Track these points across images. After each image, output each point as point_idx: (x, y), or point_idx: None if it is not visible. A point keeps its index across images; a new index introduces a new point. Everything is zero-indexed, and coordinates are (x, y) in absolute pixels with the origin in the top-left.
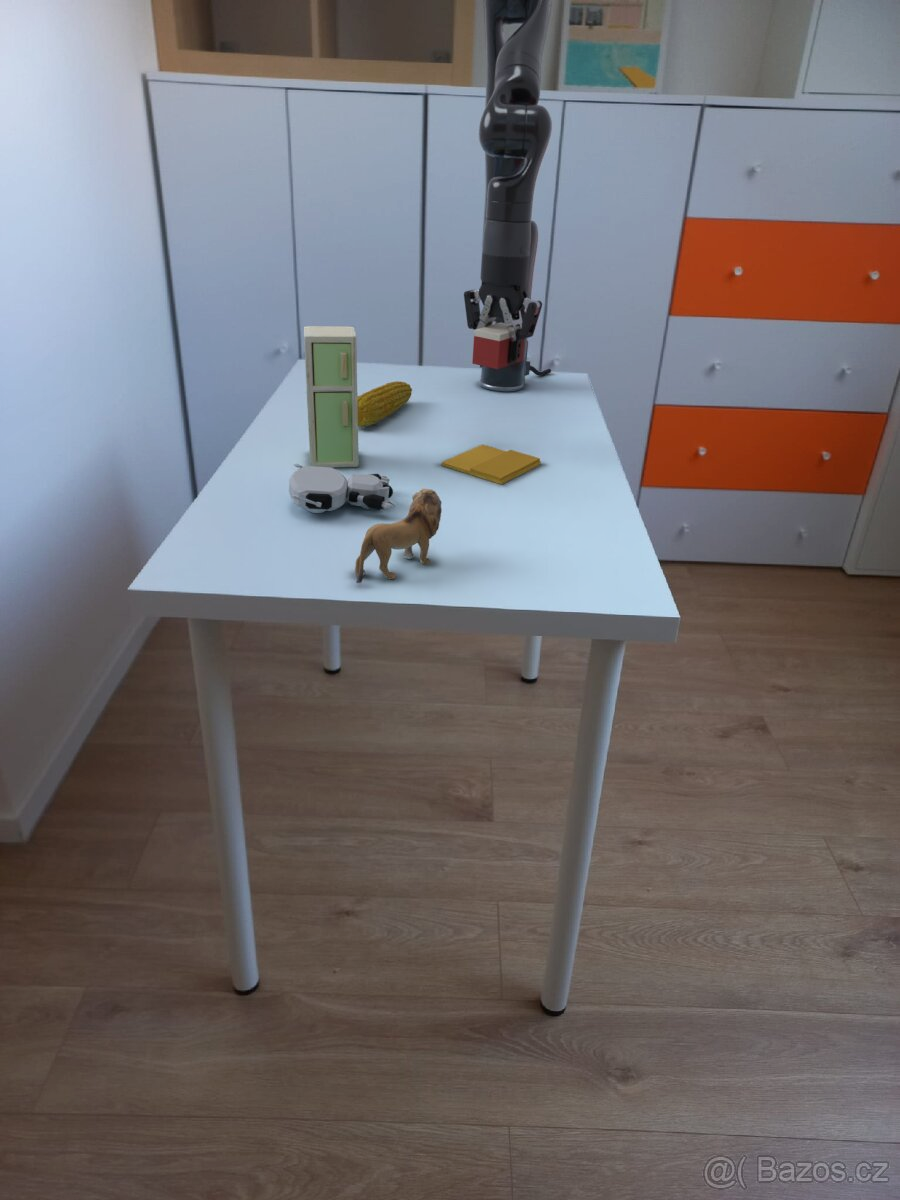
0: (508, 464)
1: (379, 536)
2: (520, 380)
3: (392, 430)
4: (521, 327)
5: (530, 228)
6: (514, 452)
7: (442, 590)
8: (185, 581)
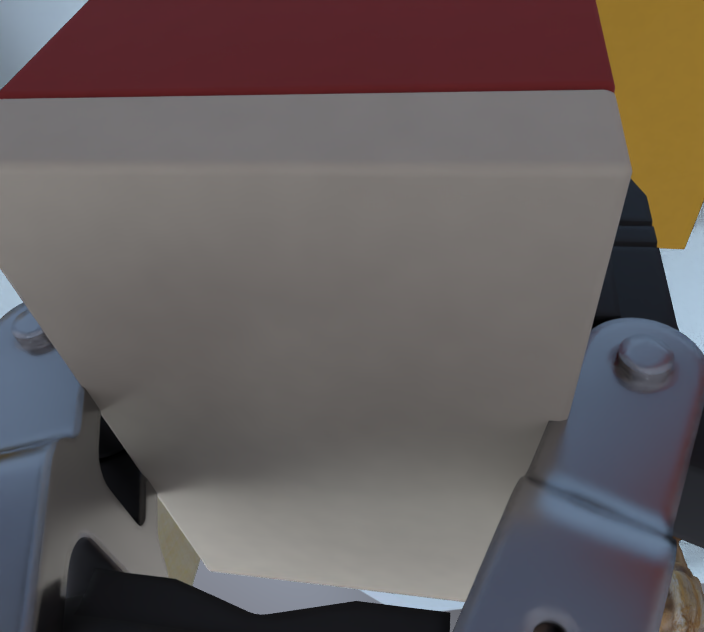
0: (663, 131)
1: None
2: None
3: (8, 62)
4: (676, 492)
5: None
6: None
7: None
8: (424, 603)
